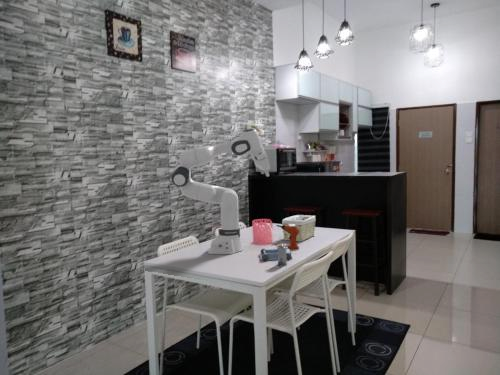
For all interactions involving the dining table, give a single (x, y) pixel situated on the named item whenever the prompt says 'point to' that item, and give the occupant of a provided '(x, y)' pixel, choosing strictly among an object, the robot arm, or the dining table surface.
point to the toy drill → (291, 236)
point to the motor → (281, 255)
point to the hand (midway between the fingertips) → (265, 174)
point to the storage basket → (300, 226)
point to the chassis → (273, 254)
